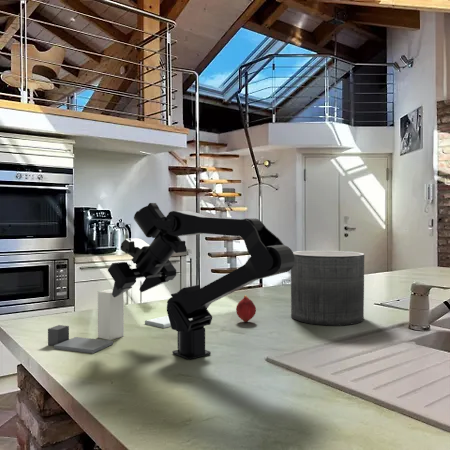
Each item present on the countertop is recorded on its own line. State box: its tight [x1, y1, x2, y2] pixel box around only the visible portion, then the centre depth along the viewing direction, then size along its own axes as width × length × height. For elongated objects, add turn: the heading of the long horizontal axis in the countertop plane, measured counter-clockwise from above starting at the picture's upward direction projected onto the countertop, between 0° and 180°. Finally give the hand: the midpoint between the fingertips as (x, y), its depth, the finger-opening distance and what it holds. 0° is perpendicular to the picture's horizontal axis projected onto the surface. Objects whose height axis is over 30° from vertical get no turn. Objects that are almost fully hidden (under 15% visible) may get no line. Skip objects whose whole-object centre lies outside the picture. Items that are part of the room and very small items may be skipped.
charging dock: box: [47, 324, 114, 354], centre depth 110 cm, size 14×8×4 cm, turn 70°
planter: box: [290, 250, 365, 327], centre depth 140 cm, size 22×22×20 cm
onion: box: [235, 294, 257, 323], centre depth 135 cm, size 6×6×8 cm
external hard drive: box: [144, 315, 193, 329], centre depth 135 cm, size 2×8×12 cm
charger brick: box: [97, 288, 125, 341], centre depth 118 cm, size 5×5×12 cm
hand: (127, 293), depth 115 cm, fingers open, 9 cm apart
